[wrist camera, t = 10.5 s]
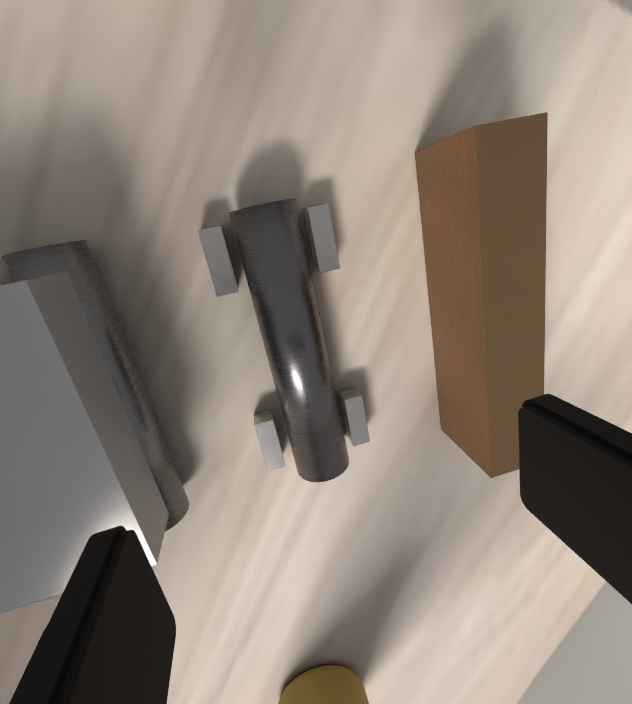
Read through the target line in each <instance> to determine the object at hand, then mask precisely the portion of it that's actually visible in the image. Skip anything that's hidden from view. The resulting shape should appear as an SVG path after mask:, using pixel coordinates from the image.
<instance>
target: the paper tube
mask: <svg viewBox="0 0 632 704" xmlns="http://www.w3.org/2000/svg"><path fill="white" fill-rule="evenodd" d="M278 704H369V703H368V699H367V696H366V692H365V688H364V685H363V683H362V681H361V679H360V678H359V676H358V675H357V674H356V673H355V672H353V671H352V670H351V669H349V668H346V667H343V666H338V665H325V666H320V667H316V668H313V669H310V670H308V671H306V672H304V673H302V674H301V675H299V676H298V677H296V678H295V679H294V680H293V681H292V682H291V683H290V684H289V685H288V686H287V687H286V688H285V690H284V691H283V693H282V695H281V698H280V700H279V703H278Z"/></svg>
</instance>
